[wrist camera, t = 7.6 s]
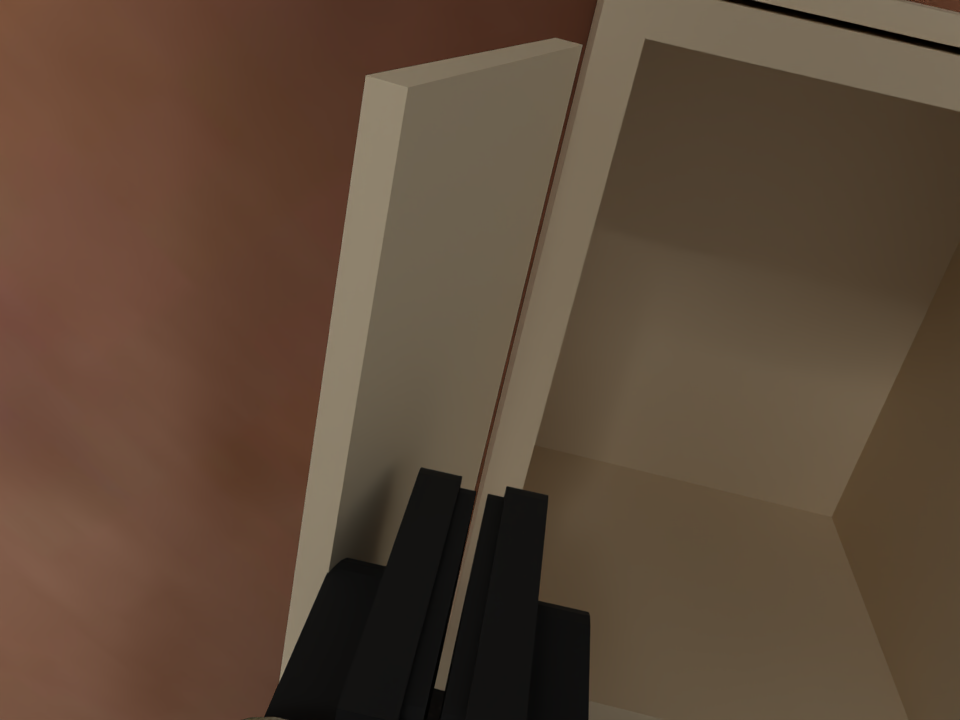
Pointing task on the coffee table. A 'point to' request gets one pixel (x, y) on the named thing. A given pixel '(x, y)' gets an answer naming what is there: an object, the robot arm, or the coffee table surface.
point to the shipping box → (749, 363)
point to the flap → (426, 290)
